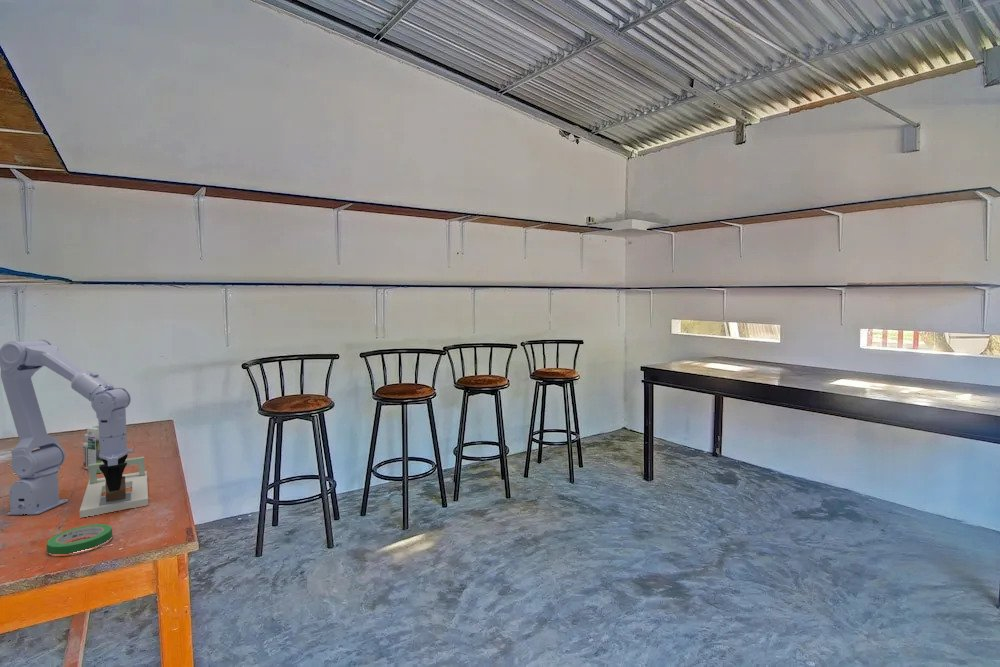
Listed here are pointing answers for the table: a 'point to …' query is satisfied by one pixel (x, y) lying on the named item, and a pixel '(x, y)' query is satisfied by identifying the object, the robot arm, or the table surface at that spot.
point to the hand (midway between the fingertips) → (115, 486)
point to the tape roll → (59, 547)
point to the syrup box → (93, 446)
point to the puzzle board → (98, 504)
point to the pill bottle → (85, 453)
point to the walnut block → (116, 492)
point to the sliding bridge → (129, 462)
